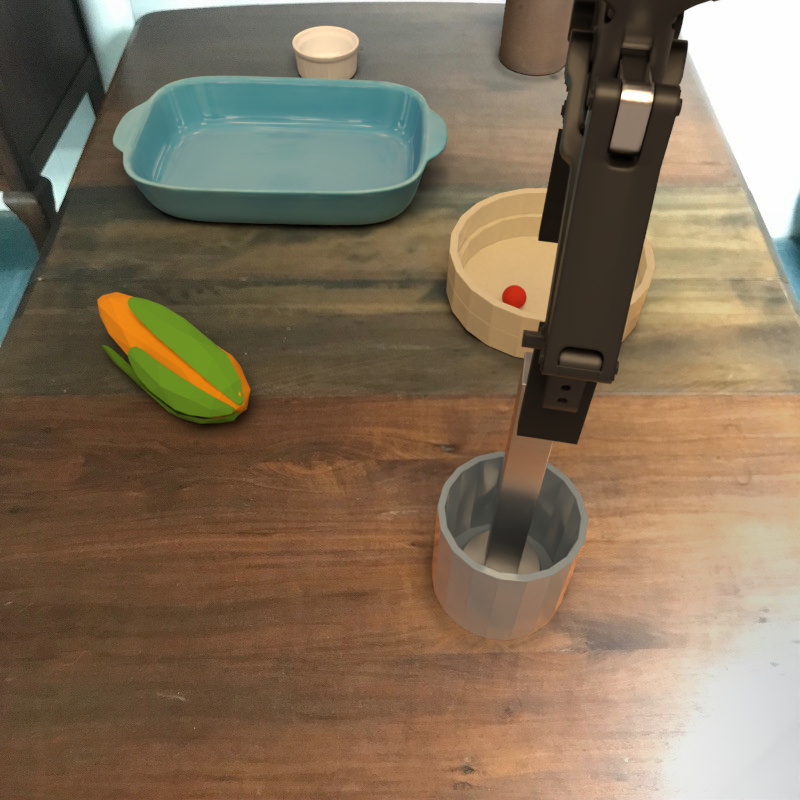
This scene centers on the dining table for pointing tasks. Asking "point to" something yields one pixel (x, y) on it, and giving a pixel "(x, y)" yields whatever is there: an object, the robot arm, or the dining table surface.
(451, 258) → the bowl
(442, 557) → the crock
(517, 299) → the cherry tomato
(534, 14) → the pillar candle
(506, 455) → the silver disc tamper
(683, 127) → the dining table surface
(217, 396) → the corn
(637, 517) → the dining table surface
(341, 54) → the ramekin
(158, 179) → the casserole dish
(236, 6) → the dining table surface
